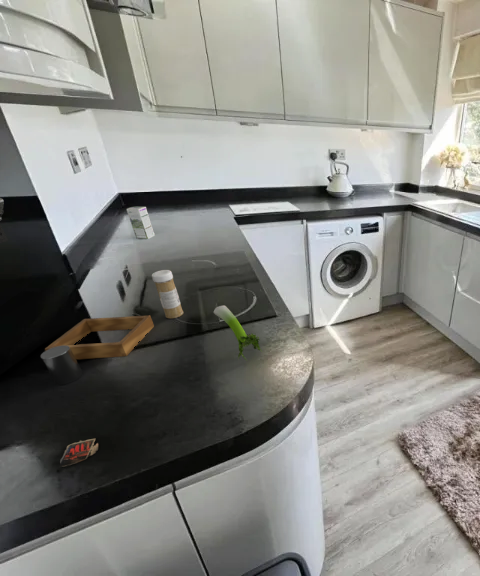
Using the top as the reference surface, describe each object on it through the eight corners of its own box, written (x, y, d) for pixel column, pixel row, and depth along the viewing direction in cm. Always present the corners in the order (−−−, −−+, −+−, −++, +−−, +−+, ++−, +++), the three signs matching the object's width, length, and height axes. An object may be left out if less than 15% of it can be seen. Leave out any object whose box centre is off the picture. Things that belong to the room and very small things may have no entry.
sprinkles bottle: (169, 311, 95) (156, 269, 89) (186, 310, 95) (173, 268, 89) (162, 320, 91) (147, 276, 85) (180, 318, 91) (166, 275, 85)
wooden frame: (51, 361, 74) (44, 348, 73) (89, 329, 86) (84, 318, 84) (126, 356, 76) (121, 344, 75) (154, 326, 88) (150, 315, 86)
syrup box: (155, 235, 160) (146, 206, 154) (148, 239, 155) (138, 208, 148) (143, 235, 160) (134, 206, 154) (135, 239, 155) (125, 208, 148)
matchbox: (59, 471, 51) (58, 469, 50) (63, 447, 54) (62, 445, 54) (97, 455, 53) (96, 453, 53) (99, 434, 57) (98, 432, 57)
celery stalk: (234, 314, 97) (272, 357, 76) (210, 324, 94) (242, 373, 72) (227, 296, 95) (263, 336, 73) (202, 306, 91) (232, 351, 69)
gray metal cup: (50, 385, 67) (34, 359, 64) (65, 371, 71) (51, 345, 68) (73, 384, 68) (59, 357, 65) (87, 370, 72) (74, 344, 69)
